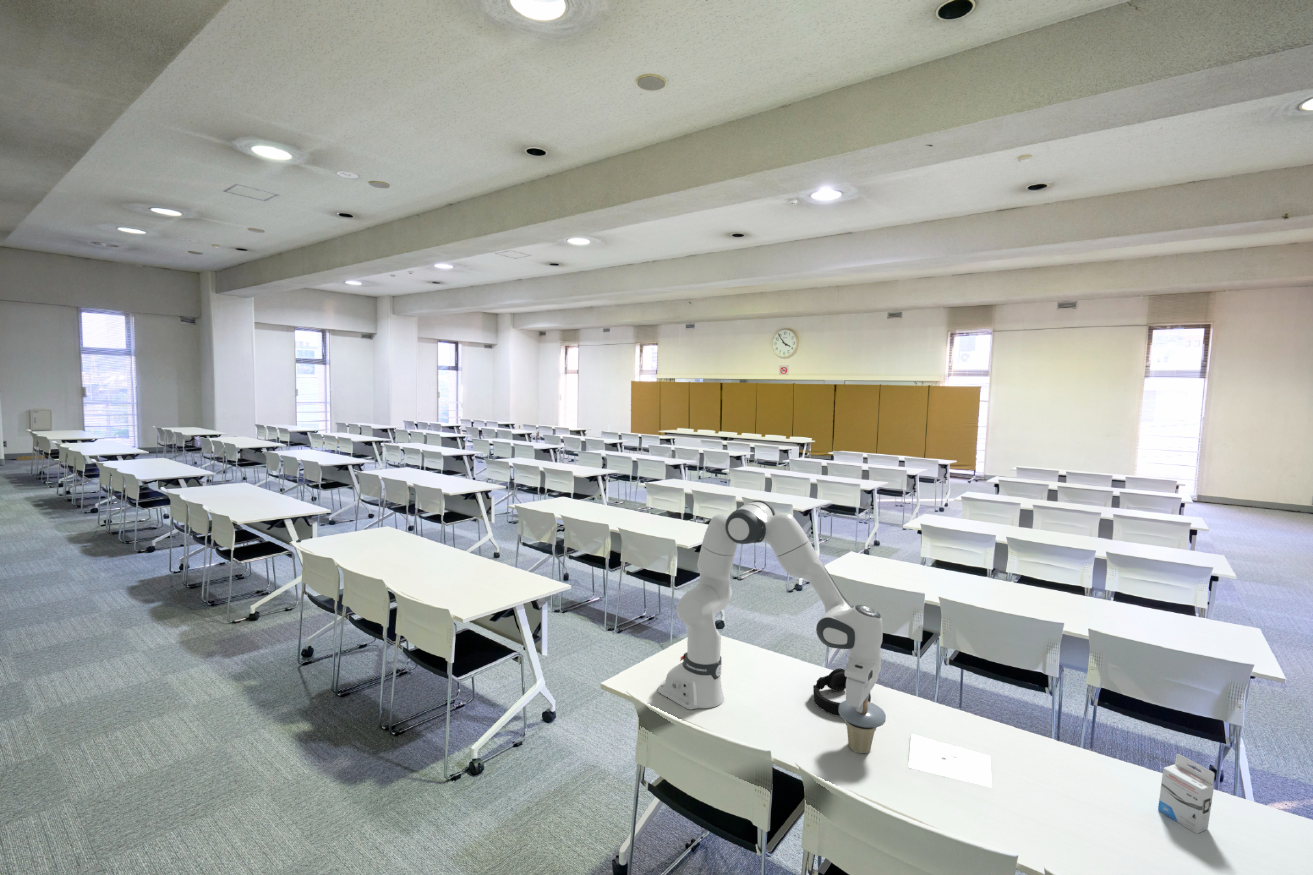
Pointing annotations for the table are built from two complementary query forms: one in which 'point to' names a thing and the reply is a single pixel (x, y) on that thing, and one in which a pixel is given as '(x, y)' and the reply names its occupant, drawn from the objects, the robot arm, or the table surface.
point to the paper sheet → (949, 761)
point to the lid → (863, 715)
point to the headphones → (833, 681)
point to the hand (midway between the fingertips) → (861, 707)
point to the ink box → (1187, 794)
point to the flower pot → (860, 738)
